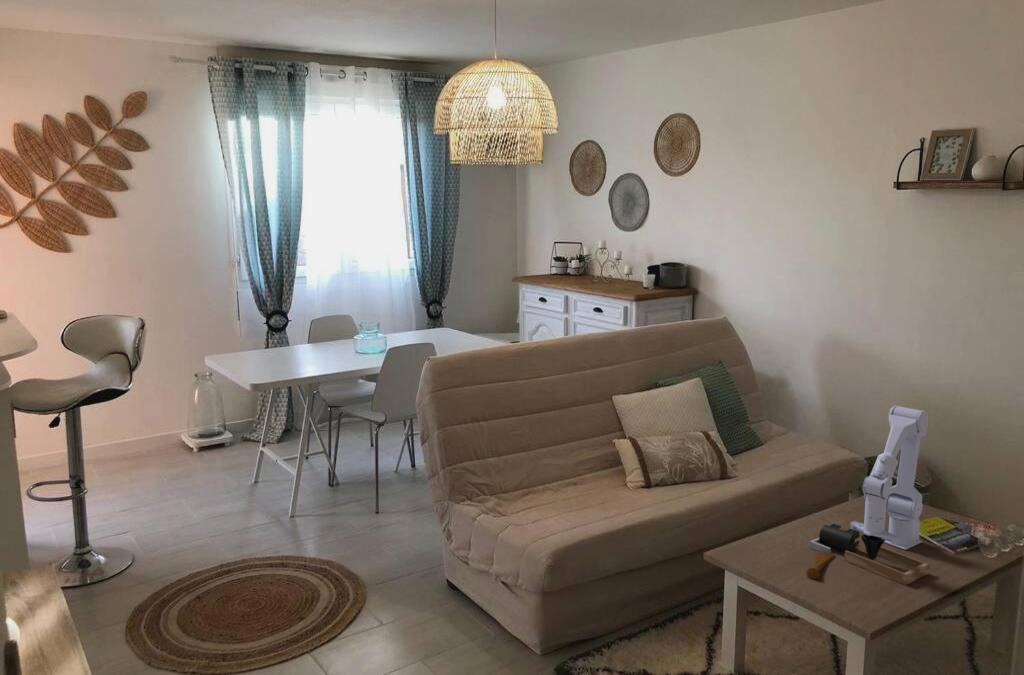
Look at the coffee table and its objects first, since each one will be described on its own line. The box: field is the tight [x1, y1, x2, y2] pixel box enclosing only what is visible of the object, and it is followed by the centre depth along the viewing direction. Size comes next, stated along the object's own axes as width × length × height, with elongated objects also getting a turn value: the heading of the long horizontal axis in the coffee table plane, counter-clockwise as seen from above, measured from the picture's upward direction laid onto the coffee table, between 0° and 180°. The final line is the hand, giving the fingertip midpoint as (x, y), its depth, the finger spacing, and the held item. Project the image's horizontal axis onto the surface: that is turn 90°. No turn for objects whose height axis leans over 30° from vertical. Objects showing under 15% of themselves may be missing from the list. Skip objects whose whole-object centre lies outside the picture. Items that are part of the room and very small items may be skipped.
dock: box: [808, 537, 832, 554], centre depth 261 cm, size 13×7×2 cm, turn 124°
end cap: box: [818, 523, 861, 553], centre depth 258 cm, size 10×7×7 cm
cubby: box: [843, 545, 931, 586], centre depth 246 cm, size 12×20×3 cm, turn 34°
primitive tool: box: [805, 551, 835, 580], centre depth 247 cm, size 19×6×4 cm, turn 151°
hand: (872, 558), depth 250 cm, fingers closed
